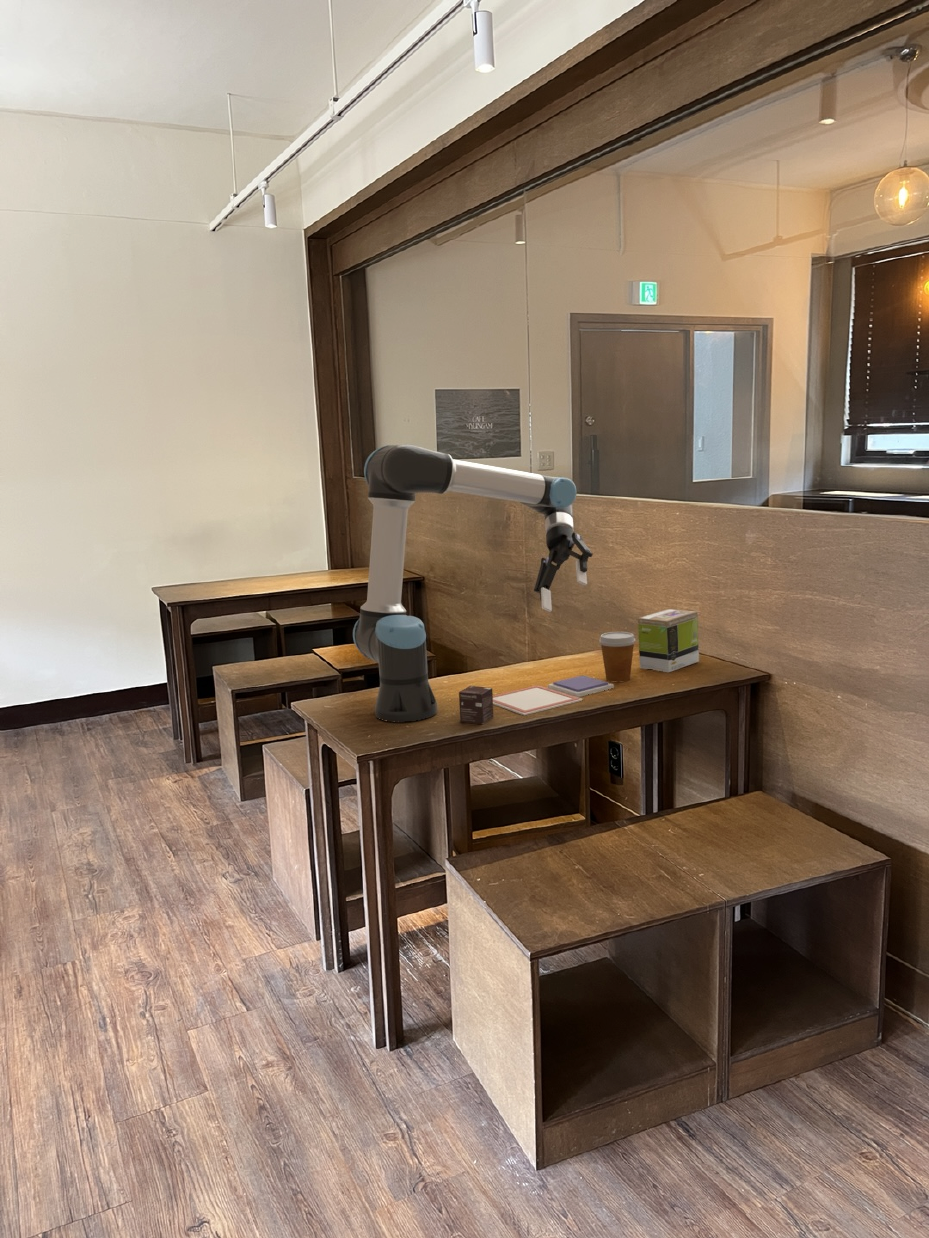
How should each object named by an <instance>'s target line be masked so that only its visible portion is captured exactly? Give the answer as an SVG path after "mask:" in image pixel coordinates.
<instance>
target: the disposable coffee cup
mask: <svg viewBox="0 0 929 1238" xmlns="http://www.w3.org/2000/svg"><path fill="white" fill-rule="evenodd" d="M598 641H599V644H600V647H601V652H602V653H601V654H602V660H603V667H604V673H605V679H607V680H606V681H607V682H611V681H624V682H628V681H630V680H631V674H632V664H633V655H634V645H635V643H636V638H635V635H634V633H631V632H627V631H611V632H610V631H609V632H605V633H602V634H600V637H599V640H598Z"/></svg>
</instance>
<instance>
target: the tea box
mask: <svg viewBox="0 0 929 1238" xmlns="http://www.w3.org/2000/svg"><path fill="white" fill-rule="evenodd" d="M698 620H699V619H698V611H692V610H691V611H690V610H681V609H672V608H671V609H669V608H667V609H664V610H660V611H657V612H654V613H650V614H648V615H644V616H641V617H638V618H637V628H638V629H637V631H638V655H639V656H638V658H639V660H638V661H639V668H640V669H642V668H643V669H642V670H647V669H653V670H658V671H657V672H659V671H663V672H662V673H671V672H673V671H677V670H680V669H683V668H684V667H685V668H686V667H687V666H690V665H694V664H696V663H698V662H699V661H700V651H699V650H700V649H699V621H698ZM653 670H652V671H653Z"/></svg>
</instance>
